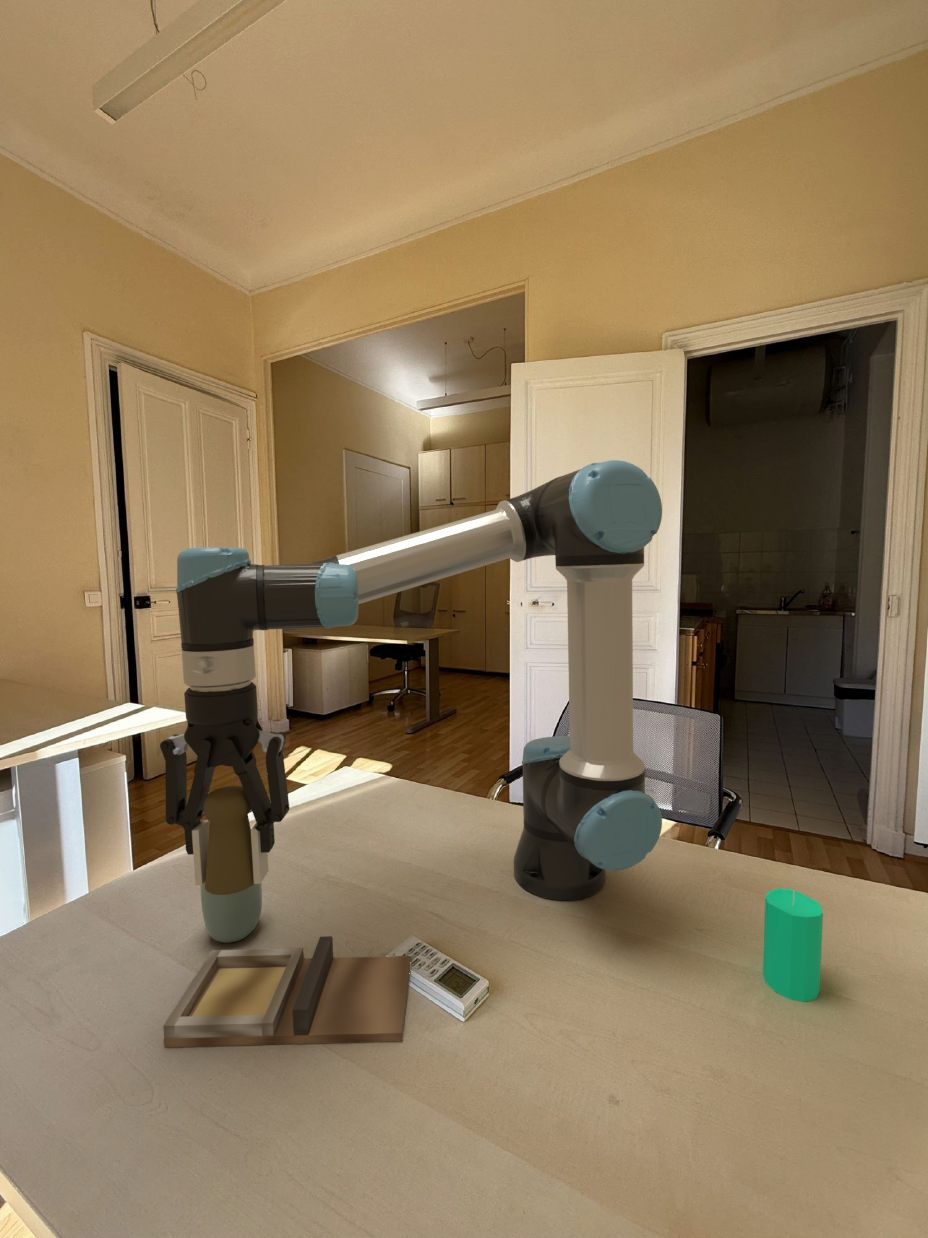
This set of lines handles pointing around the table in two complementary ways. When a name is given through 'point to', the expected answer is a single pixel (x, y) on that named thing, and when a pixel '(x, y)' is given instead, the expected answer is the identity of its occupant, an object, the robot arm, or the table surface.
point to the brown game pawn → (228, 841)
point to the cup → (231, 913)
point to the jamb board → (291, 999)
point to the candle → (792, 944)
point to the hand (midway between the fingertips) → (232, 877)
